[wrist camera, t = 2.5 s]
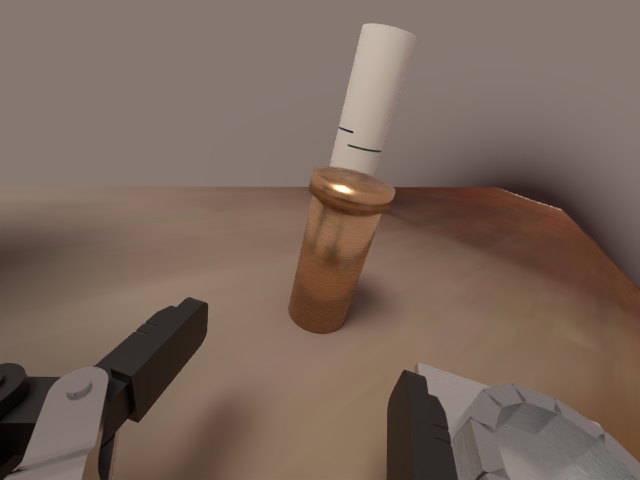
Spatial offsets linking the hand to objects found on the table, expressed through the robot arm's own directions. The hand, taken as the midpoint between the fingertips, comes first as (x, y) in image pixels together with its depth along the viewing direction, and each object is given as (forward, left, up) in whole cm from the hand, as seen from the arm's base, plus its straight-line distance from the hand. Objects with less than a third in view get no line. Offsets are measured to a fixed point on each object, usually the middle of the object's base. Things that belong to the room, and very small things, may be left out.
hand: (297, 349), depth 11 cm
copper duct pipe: (0, +11, -8) cm, 14 cm away
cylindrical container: (-2, +37, -8) cm, 38 cm away
